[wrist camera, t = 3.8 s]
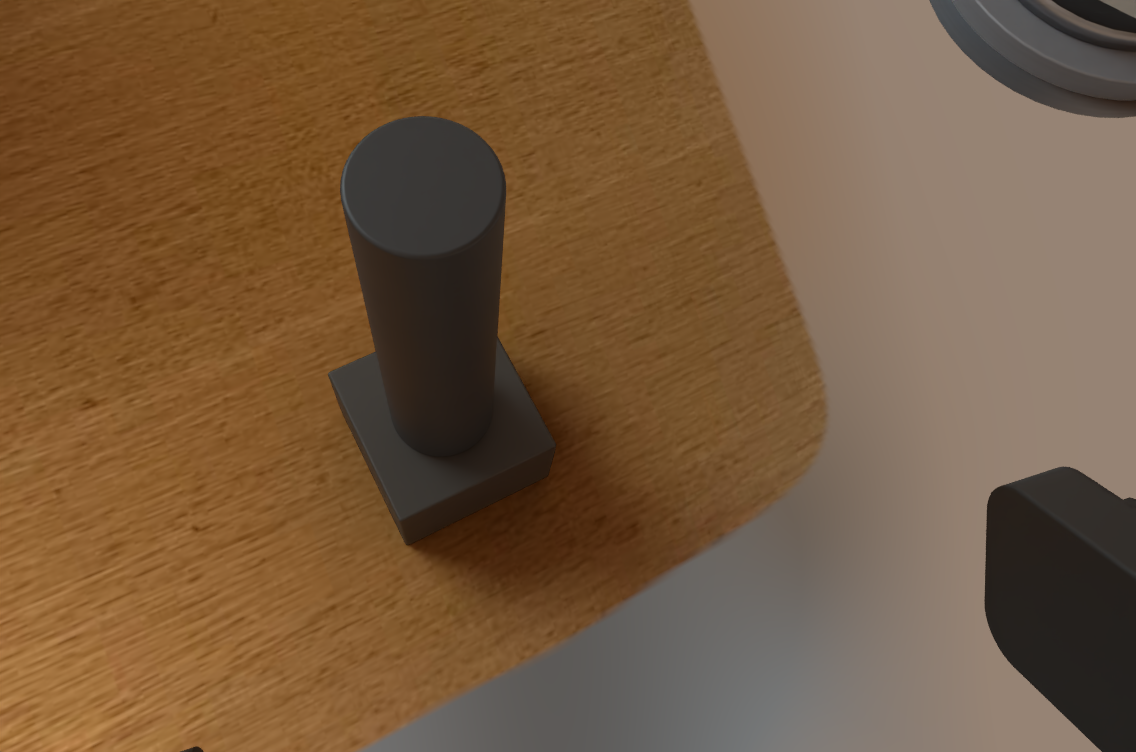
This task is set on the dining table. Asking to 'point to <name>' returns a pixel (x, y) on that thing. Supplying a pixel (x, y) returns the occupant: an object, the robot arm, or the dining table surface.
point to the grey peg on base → (434, 328)
